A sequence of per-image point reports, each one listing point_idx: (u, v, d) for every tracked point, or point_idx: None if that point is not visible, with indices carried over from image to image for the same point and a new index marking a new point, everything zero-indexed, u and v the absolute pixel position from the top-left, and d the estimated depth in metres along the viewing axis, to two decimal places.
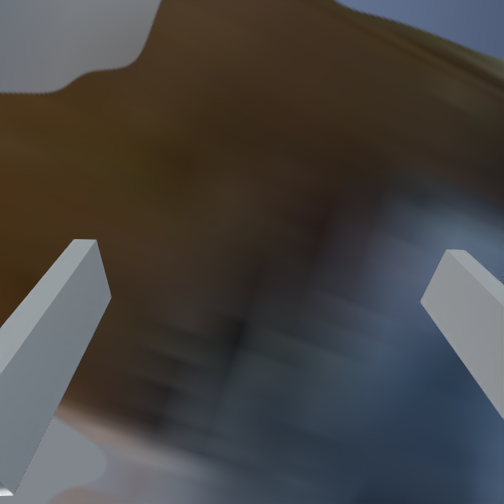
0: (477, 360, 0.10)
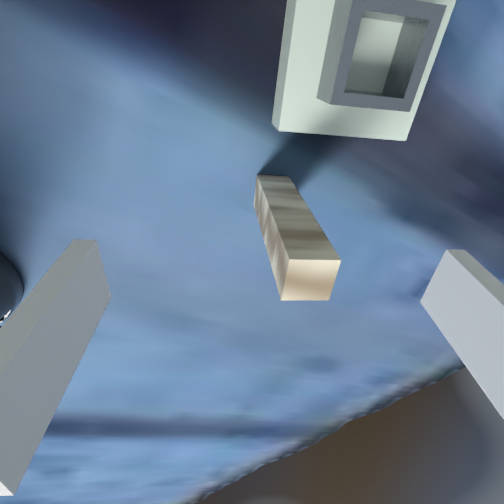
0: (477, 360, 0.10)
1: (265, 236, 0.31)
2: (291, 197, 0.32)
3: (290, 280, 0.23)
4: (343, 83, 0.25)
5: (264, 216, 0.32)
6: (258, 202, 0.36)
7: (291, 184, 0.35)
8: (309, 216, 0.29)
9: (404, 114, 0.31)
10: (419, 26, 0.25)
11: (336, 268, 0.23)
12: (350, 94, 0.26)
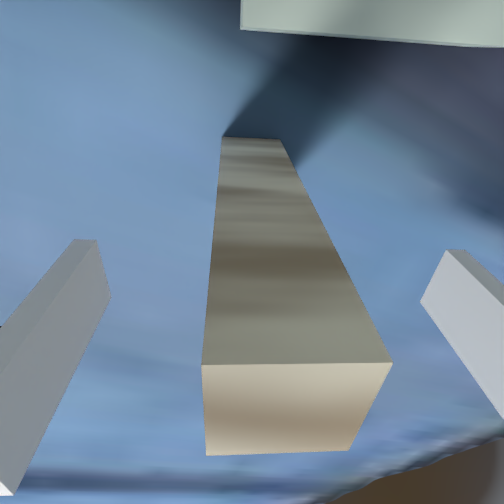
0: (478, 360, 0.10)
1: None
2: (273, 170, 0.16)
3: (221, 416, 0.07)
4: None
5: None
6: None
7: (280, 150, 0.19)
8: (303, 208, 0.12)
9: None
10: None
11: (374, 384, 0.07)
12: None
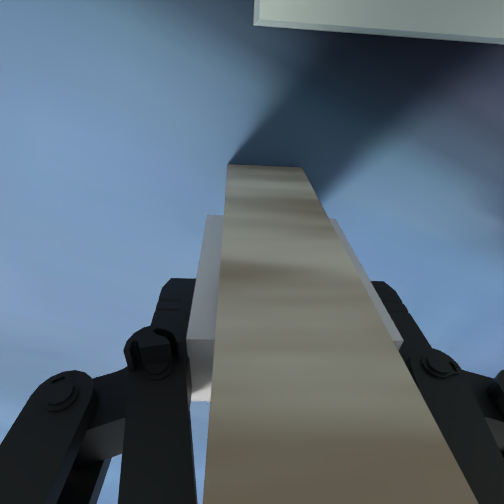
0: None
1: None
2: (299, 225, 0.11)
3: None
4: None
5: None
6: None
7: (305, 187, 0.14)
8: (360, 313, 0.08)
9: None
10: None
11: None
12: None
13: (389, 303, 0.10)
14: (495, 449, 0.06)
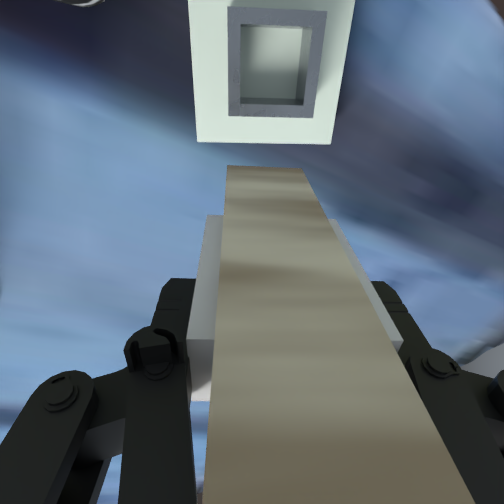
0: None
1: None
2: (299, 227, 0.11)
3: None
4: (237, 95, 0.26)
5: None
6: None
7: (305, 188, 0.14)
8: (358, 315, 0.08)
9: (323, 118, 0.31)
10: (308, 33, 0.25)
11: None
12: (246, 105, 0.26)
13: (389, 303, 0.10)
14: (495, 449, 0.06)
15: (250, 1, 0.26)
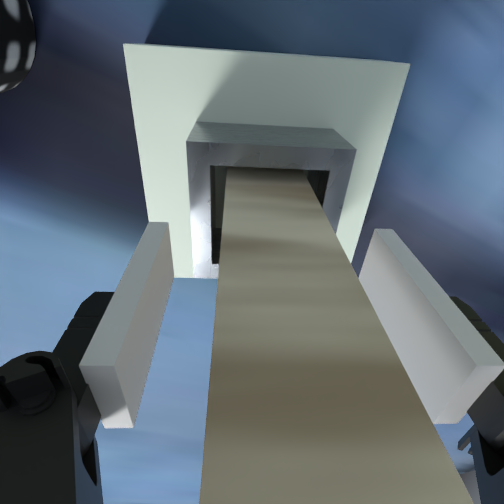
0: (392, 326, 0.11)
1: None
2: (293, 208, 0.12)
3: None
4: (206, 254, 0.16)
5: None
6: None
7: (299, 176, 0.15)
8: (341, 277, 0.09)
9: None
10: (323, 169, 0.15)
11: None
12: None
13: (468, 321, 0.09)
14: None
15: (231, 109, 0.16)
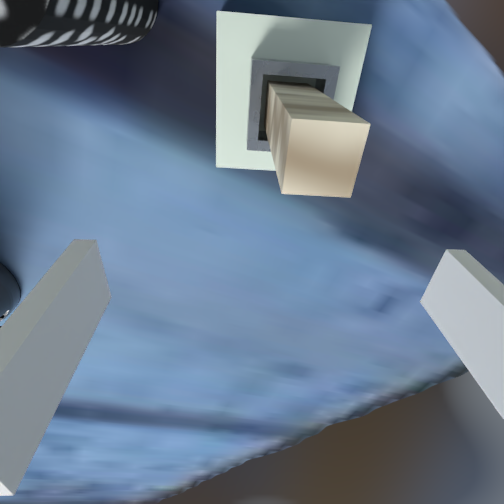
0: (477, 360, 0.10)
1: (271, 139, 0.24)
2: (306, 91, 0.25)
3: (294, 158, 0.16)
4: (255, 133, 0.29)
5: (271, 116, 0.25)
6: (267, 111, 0.29)
7: (309, 86, 0.28)
8: (328, 100, 0.21)
9: None
10: (322, 82, 0.28)
11: (363, 139, 0.16)
12: (264, 141, 0.29)
13: None
14: None
15: (271, 50, 0.29)
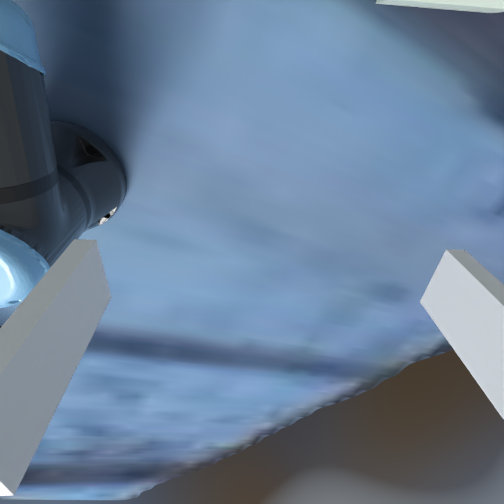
0: (477, 360, 0.10)
1: None
2: None
3: None
4: None
5: None
6: None
7: None
8: None
9: None
10: None
11: None
12: None
13: None
14: None
15: None
